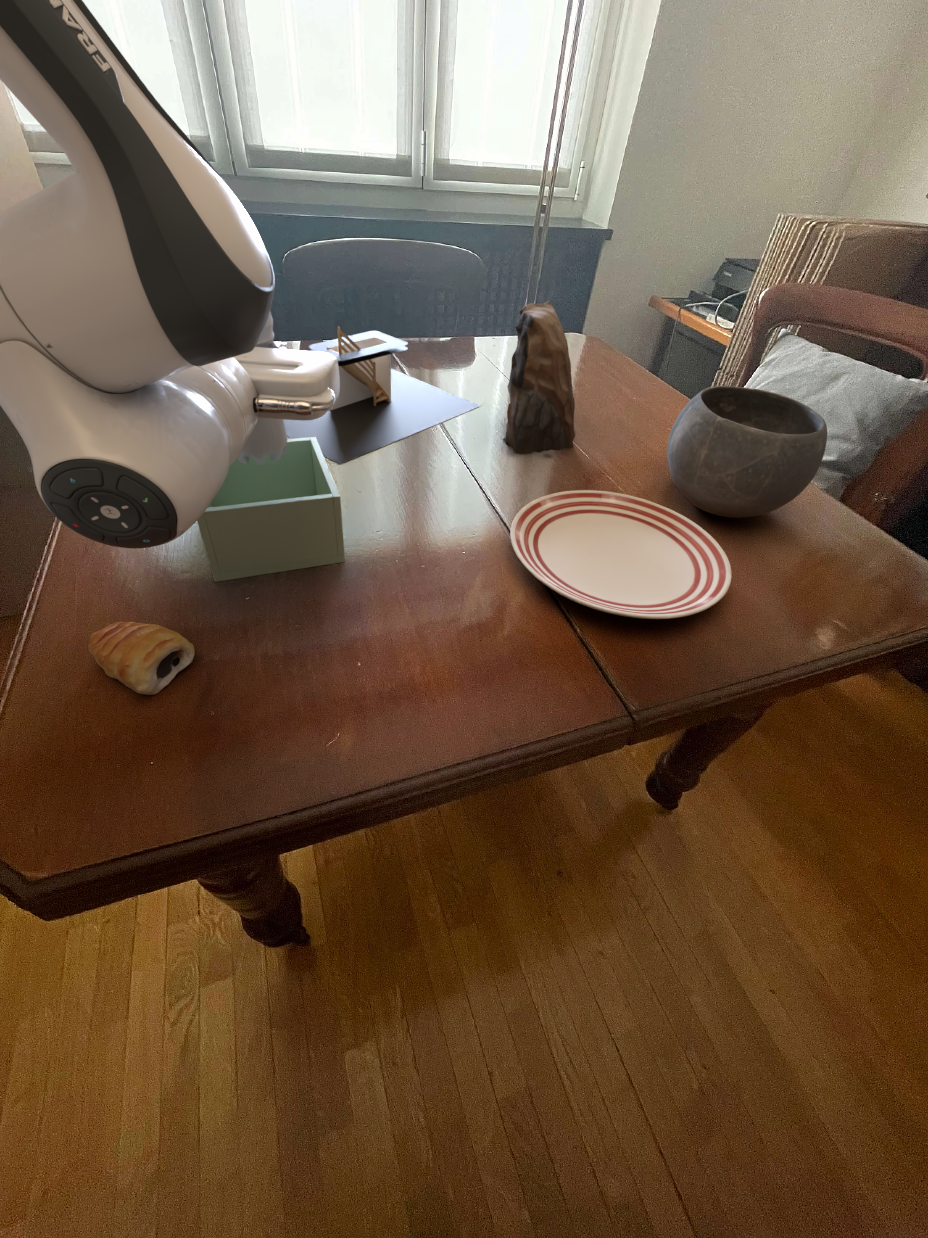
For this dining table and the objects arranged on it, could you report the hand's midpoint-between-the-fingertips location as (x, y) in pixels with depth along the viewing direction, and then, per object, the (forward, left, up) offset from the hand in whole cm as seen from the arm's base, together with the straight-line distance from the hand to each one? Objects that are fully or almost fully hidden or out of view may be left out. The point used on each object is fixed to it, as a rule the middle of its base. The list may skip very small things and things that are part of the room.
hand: (242, 346), depth 53 cm
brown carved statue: (+46, +17, -22) cm, 54 cm away
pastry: (-14, -19, -22) cm, 32 cm away
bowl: (+65, -8, -22) cm, 69 cm away
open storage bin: (0, -1, -22) cm, 22 cm away
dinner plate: (+40, -16, -22) cm, 48 cm away
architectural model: (+20, +37, -22) cm, 47 cm away
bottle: (0, -1, -11) cm, 11 cm away
